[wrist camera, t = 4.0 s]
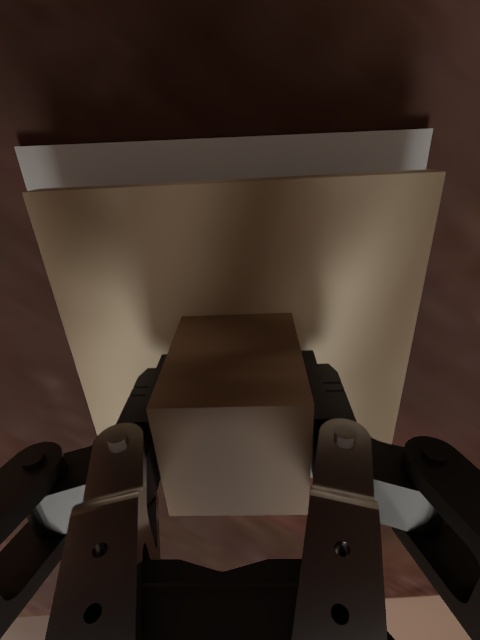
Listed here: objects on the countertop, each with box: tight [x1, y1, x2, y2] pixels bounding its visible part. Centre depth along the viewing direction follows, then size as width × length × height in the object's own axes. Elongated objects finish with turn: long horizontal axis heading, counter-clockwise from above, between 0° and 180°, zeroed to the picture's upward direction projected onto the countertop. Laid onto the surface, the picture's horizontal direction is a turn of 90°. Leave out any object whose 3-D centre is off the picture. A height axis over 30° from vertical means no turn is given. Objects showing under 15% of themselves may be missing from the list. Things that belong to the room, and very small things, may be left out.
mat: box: [14, 128, 433, 191], centre depth 16 cm, size 15×15×1 cm
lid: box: [22, 169, 446, 516], centre depth 12 cm, size 13×13×6 cm
